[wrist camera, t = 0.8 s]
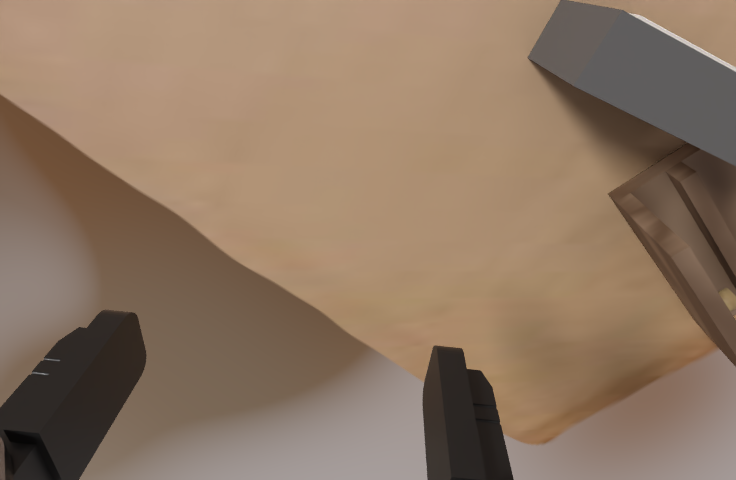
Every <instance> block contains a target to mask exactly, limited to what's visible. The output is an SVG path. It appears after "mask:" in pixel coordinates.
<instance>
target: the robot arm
mask: <svg viewBox="0 0 736 480" xmlns="http://www.w3.org/2000/svg"><path fill="white" fill-rule="evenodd" d="M145 363H146V350H145V346H144V341H143V337H142V333H141V329H140V325H139V321H138V317H137V315H136V314H135V313H132V312H122V311H112V310H103V311H101V312H100V313H99V314H98V315H97V316H96V318H95V319H94V320H93V321H92V322H91V323H90V325H89V326H88V327H87V328H81V327H79V328H77V329H76V330H74V331H73V332H71V333H70V334H68V335H67V336H65V337H64V338H62V339H61V340H59V341H58V342H57V343H56V345H55V346H54V347H53V348H52V349H51V350H50V351H49V353H48V354H47V355H46V356H45V357H44V360H43V361H41V362H40V363H39V364H38V365H37V366H36V367H35V369H34V370H33V371H32V374H31V375H28V377H27V378H26V379H25V380H24V381H23V382H22V383H21V385H20V386H19V387H18V388H17V389H16V390H15V391H14V393H13V394H12V395H11V396H10V397H9V398H8V399H7V401H6V402H5V403H4V404H3V405H2V407H0V480H79V478H80V477H81V475H82V473H83V472H84V470H85V468H86V467H87V465H88V463H89V462H90V460H91V458H92V457H93V455H94V453H95V452H96V450H97V448H98V447H99V445H100V443H101V442H102V440H103V438H104V437H105V435H106V433H107V432H108V430H109V428H110V427H111V425H112V423H113V422H114V420H115V418H116V417H117V415H118V413H119V412H120V410H121V408H122V407H123V405H124V403H125V402H126V400H127V398H128V397H129V395H130V394H131V392H132V390H133V388H134V387H135V385H136V383H137V382H138V380H139V378H140V377H141V375H142V373H143V370H144V367H145ZM423 418H424V433H425V447H426V462H427V477H428V480H513V475H512V471H511V467H510V462H509V458H508V454H507V449H506V445H505V441H504V436H503V432H502V428H501V425H500V419H499V415H498V410H497V409H496V402H495V397H494V393H493V389H492V386H491V385H490V383H489V382H488V380H487V379H486V378H485V376H484V375H483V373H482V372H481V371H480V370H471V369H467V368H466V363H465V357H464V352H463V350H462V348H453V347H444V346H434V347H433V350H432V354H431V358H430V362H429V366H428V370H427V374H426V378H425V382H424V388H423Z"/></svg>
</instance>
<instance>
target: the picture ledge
mask: <svg viewBox="0 0 736 480" xmlns="http://www.w3.org/2000/svg"><path fill="white" fill-rule="evenodd" d="M609 196H610V197H611V199H612V200H613V202H614V203H615V205H616V206H617V208H618V209H619V211H620V212H621V213H622V215H623V216H624V218H625V219H626V221H627V222H628V224H629V225H630V227H631V228H632V230H633V231H634V233H635V234H636V235H637V237H638V238H639V240H640V241H641V243H642V244H643V246H644V247H645V249H646V250H647V252H648V253H649V255H650V256H651V257H652V259H653V260H654V262H655V263H656V265H657V266H658V268H659V269H660V271H661V272H662V274H663V275H664V277H665V278H666V279H667V281H668V282H669V284H670V285H671V287H672V288H673V290H674V291H675V293H676V294H677V296H678V297H679V299H680V300H681V301H682V303H683V304H684V306H685V307H686V309H687V310H688V312H689V313H690V315H691V316H692V318H693V319H694V320H695V321H696V323H697V324H698V325H699V326H700V327H701V328H702V329H703V330H704V332H705V333H706V334H707V335H708V336H709V337H710V338H711V339H712V341H713V342H714V343H715V344H716V345H717V346H718V347H719V348H720V350H721V351H722V352H723V353H724V354H725V355H726V356H727V357H728V359H729V360H730V361H731V362H732V363H733V364H734V365H735V366H736V320H735V318H734V317H733V316H734V315H736V166H734V165H732V164H730V163H728V162H726V161H724V160H722V159H720V158H718V157H716V156H714V155H712V154H710V153H708V152H706V151H704V150H702V149H700V148H698V147H696V146H694V145H692V144H690V143H687V144H686V145H684V146H683V147H681V148H680V149H678V150H676V151H675V152H673V153H672V154H670V155H668V156H667V157H665V158H664V159H662V160H661V161H659V162H657V163H656V164H654V165H653V166H651V167H650V168H648V169H646V170H645V171H643V172H642V173H640V174H639V175H637V176H635V177H634V178H632V179H631V180H629V181H627V182H626V183H624V184H623V185H621V186H620V187H618V188H616V189H615V190H613V191H612V192H610V193H609Z"/></svg>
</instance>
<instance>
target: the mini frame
mask: <svg viewBox="0 0 736 480" xmlns="http://www.w3.org/2000/svg"><path fill="white" fill-rule="evenodd" d="M528 58H529V59H530V60H532V61H534V62H535V63H537V64H538V65H540V66H542V67H543V68H545V69H546V70H548V71H550V72H551V73H553V74H555V75H556V76H558V77H559V78H561V79H563V80H564V81H566V82H568V83H569V84H571V85H572V86H574V87H576V88H578V89H580V90H582V91H584V92H586V93H588V94H591V95H593V96H595V97H597V98H599V99H601V100H603V101H605V102H607V103H609V104H611V105H613V106H615V107H617V108H619V109H621V110H623V111H625V112H627V113H629V114H631V115H633V116H635V117H637V118H639V119H641V120H643V121H645V122H647V123H649V124H651V125H653V126H655V127H657V128H659V129H661V130H663V131H665V132H667V133H669V134H672V135H674V136H676V137H678V138H680V139H682V140H684V141H686V142H688V143H690V144H692V145H694V146H696V147H698V148H700V149H702V150H704V151H706V152H708V153H710V154H712V155H714V156H716V157H718V158H720V159H722V160H724V161H726V162H728V163H730V164H732V165H734V166H736V67H734V66H732V65H730V64H728V63H727V62H725V61H723V60H721V59H719V58H717V57H716V56H714V55H712V54H710V53H708V52H706V51H705V50H703V49H701V48H699V47H697V46H695V45H694V44H692V43H690V42H688V41H686V40H685V39H683V38H681V37H679V36H677V35H675V34H674V33H672V32H670V31H668V30H666V29H664V28H663V27H661V26H659V25H657V24H655V23H653V22H652V21H650V20H648V19H646V18H644V17H642V16H641V15H636V14H631V13H627V12H625V11H623V10H619V9H614V8H608V7H602V6H596V5H591V4H585V3H579V2H573V1H567V0H561V1H560V3H559V4H558V6H557V8H556V9H555V11H554V13H553V15H552V16H551V18H550V20H549V22H548V23H547V25H546V27H545V28H544V30H543V32H542V34H541V35H540V37H539V39H538V40H537V42H536V44H535V46H534V47H533V49H532V51H531V53H530V54H529V56H528Z"/></svg>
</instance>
